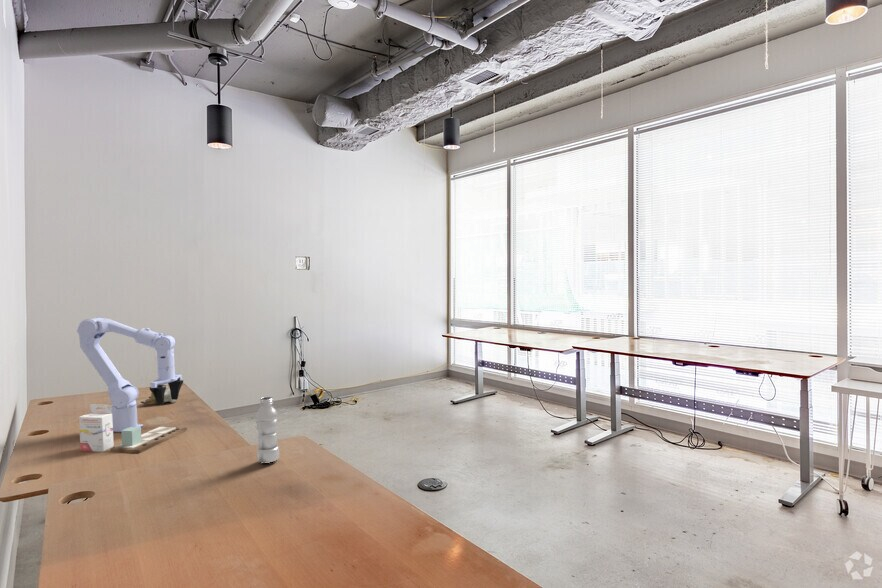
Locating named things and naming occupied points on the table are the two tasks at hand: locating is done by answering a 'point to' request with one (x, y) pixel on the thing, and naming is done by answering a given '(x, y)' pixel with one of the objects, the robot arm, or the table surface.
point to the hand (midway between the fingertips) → (167, 402)
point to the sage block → (131, 436)
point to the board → (150, 439)
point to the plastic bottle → (267, 431)
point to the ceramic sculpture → (166, 397)
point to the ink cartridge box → (96, 429)
